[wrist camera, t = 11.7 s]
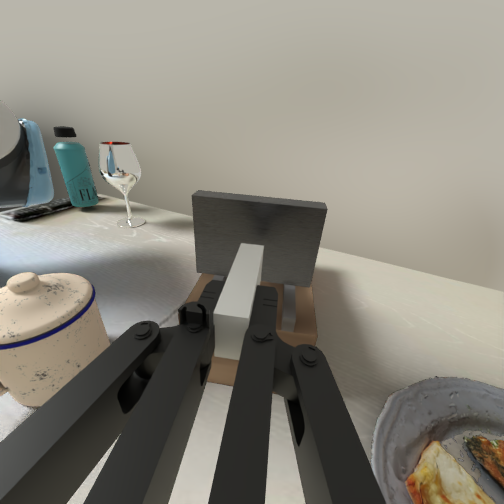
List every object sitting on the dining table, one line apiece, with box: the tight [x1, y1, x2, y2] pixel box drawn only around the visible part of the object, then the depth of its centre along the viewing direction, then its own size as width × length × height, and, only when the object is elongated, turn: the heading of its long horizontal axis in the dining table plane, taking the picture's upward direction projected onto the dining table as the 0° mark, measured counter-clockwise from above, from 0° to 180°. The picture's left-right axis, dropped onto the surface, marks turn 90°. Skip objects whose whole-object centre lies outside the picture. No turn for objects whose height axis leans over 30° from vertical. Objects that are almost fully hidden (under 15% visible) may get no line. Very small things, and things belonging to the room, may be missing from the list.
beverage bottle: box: [54, 126, 98, 207], centre depth 61 cm, size 6×7×20 cm
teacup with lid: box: [0, 272, 110, 407], centre depth 22 cm, size 12×9×12 cm
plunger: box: [192, 190, 327, 288], centre depth 24 cm, size 10×10×9 cm
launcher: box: [178, 273, 318, 394], centre depth 28 cm, size 14×12×10 cm
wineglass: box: [99, 142, 145, 228], centre depth 55 cm, size 8×8×18 cm
